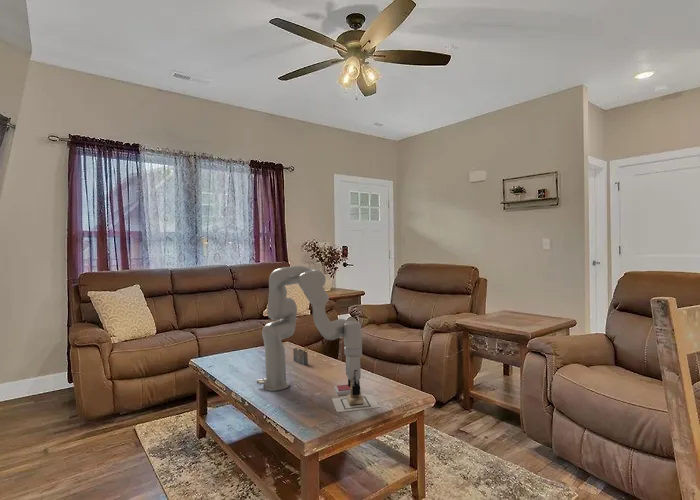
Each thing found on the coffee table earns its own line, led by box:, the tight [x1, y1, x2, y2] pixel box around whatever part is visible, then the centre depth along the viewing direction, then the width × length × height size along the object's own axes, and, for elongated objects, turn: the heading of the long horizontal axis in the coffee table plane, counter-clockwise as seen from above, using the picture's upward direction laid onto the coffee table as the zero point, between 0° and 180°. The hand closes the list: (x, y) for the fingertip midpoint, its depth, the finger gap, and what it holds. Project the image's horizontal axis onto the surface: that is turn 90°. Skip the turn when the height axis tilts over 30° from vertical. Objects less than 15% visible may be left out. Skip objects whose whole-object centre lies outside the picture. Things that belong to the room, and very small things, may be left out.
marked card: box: [331, 393, 380, 414], centre depth 171 cm, size 18×14×1 cm
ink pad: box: [334, 383, 351, 396], centre depth 186 cm, size 10×8×2 cm
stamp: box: [346, 380, 364, 406], centre depth 171 cm, size 6×6×10 cm
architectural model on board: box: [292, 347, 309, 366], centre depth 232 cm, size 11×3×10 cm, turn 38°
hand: (354, 390), depth 172 cm, fingers open, 9 cm apart
